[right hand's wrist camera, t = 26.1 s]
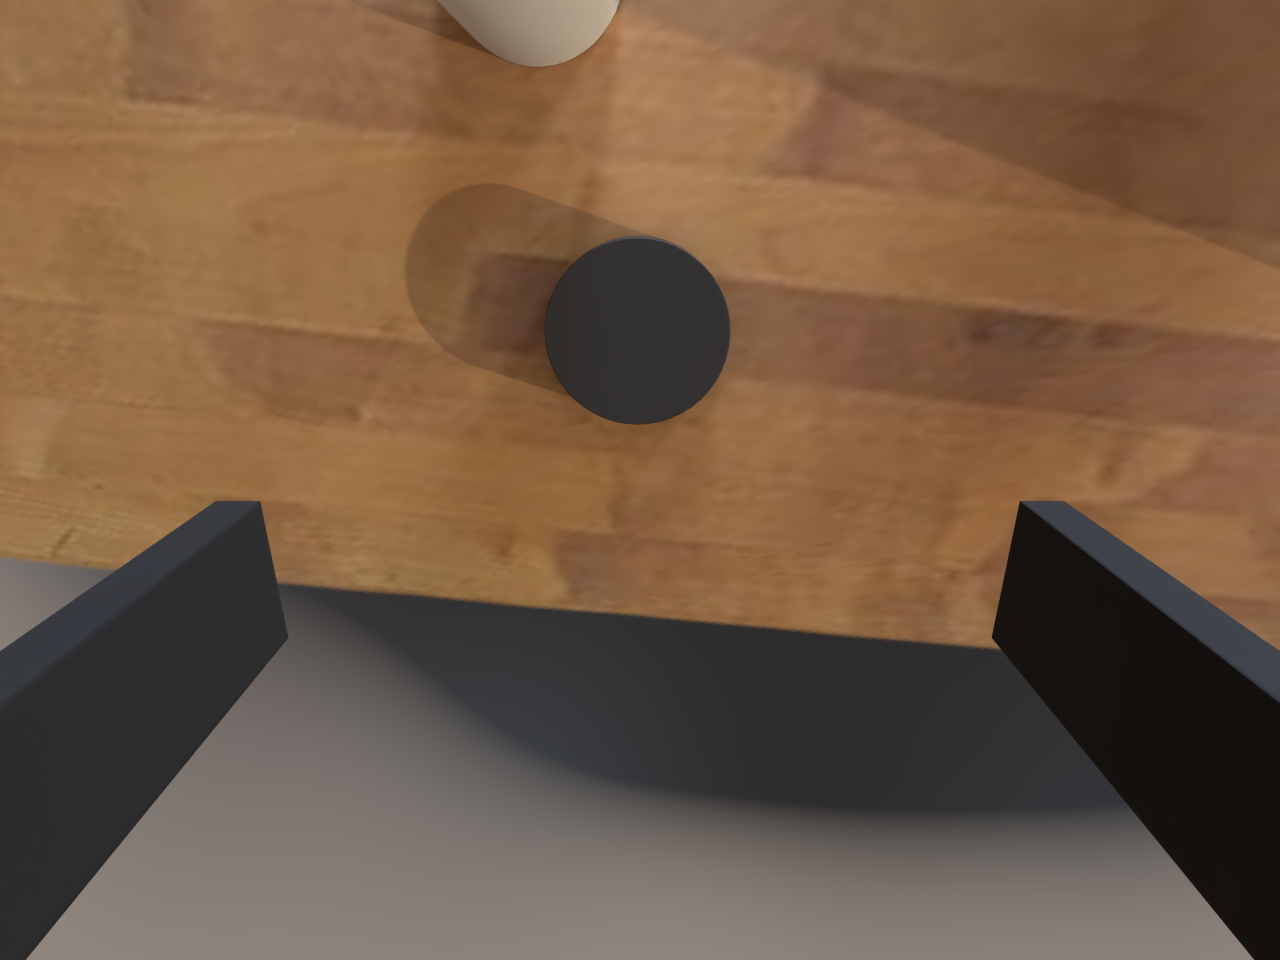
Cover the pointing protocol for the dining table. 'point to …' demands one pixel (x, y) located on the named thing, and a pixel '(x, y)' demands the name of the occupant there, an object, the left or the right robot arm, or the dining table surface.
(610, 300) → the lid
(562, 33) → the jar
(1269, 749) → the right robot arm
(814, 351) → the dining table surface
